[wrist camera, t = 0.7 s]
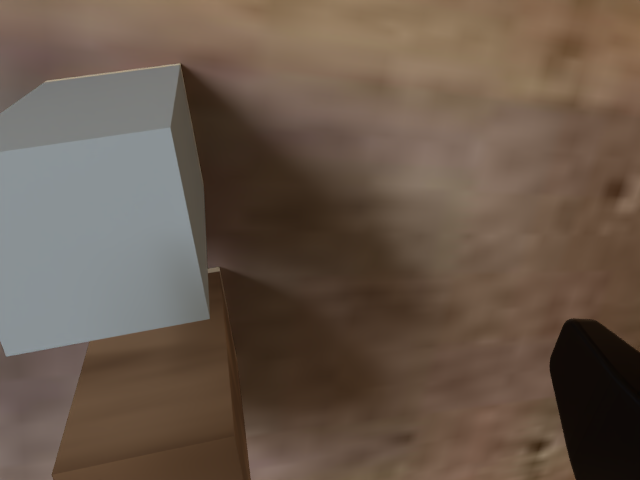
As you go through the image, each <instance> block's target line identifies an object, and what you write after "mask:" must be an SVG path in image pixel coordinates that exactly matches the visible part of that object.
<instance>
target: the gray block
mask: <svg viewBox="0 0 640 480" xmlns="http://www.w3.org/2000/svg"><path fill="white" fill-rule="evenodd" d="M207 319H210V311H209V289H208V267H207V246H206V224H205V202H204V184H203V179H202V173H201V168H200V163H199V158H198V153H197V147H196V142H195V137H194V132H193V126H192V121H191V116H190V111H189V106H188V100H187V95H186V90H185V85H184V79H183V74H182V69H181V64H172V65H164V66H156V67H149V68H141V69H133V70H126V71H118V72H110V73H102V74H95V75H87V76H79V77H72V78H64V79H56V80H48V81H46V82H44V83H43V84H41V85H40V86H39V87H37V88H36V89H34V90H33V91H31V92H30V93H29V94H27V95H26V96H24V97H23V98H22V99H20V100H19V101H17V102H16V103H14V104H13V105H12V106H10V107H9V108H7V109H6V110H4V111H3V112H2V113H0V342H1V344H2V347H3V349H4V352H5V355H6V357H7V356H12V355H18V354H23V353H29V352H34V351H39V350H45V349H50V348H56V347H61V346H66V345H72V344H77V343H83V342H88V341H93V340H99V339H104V338H110V337H115V336H120V335H126V334H131V333H137V332H142V331H147V330H153V329H158V328H164V327H169V326H174V325H180V324H185V323H191V322H196V321H201V320H207Z"/></svg>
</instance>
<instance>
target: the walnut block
mask: <svg viewBox="0 0 640 480" xmlns="http://www.w3.org/2000/svg"><path fill="white" fill-rule="evenodd" d="M208 289H209V311H210V319H207V320H201V321H196V322H191V323H185V324H180V325H174V326H169V327H164V328H158V329H153V330H147V331H142V332H137V333H131V334H126V335H120V336H115V337H110V338H104V339H99V340H93V341H90V342H89V345H88V349H87V352H86V356H85V359H84V363H83V367H82V370H81V374H80V377H79V381H78V384H77V388H76V391H75V395H74V398H73V402H72V405H71V409H70V412H69V416H68V419H67V423H66V426H65V430H64V433H63V437H62V440H61V444H60V447H59V451H58V454H57V458H56V462H55V465H54V469H53V472H52V477H53V480H251V478H250V469H249V460H248V452H247V443H246V434H245V425H244V416H243V408H242V399H241V390H240V381H239V373H238V364H237V356H236V351H235V346H234V341H233V336H232V330H231V325H230V320H229V315H228V309H227V304H226V299H225V294H224V288H223V283H222V278H221V273H220V268H219V267H215V268H209V269H208Z"/></svg>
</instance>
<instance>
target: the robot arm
mask: <svg viewBox="0 0 640 480" xmlns="http://www.w3.org/2000/svg"><path fill="white" fill-rule="evenodd" d="M550 374H551V379H552V383H553V388H554V392H555V397H556V401H557V406H558V410H559V415H560V419H561V424H562V428H563V433H564V437H565V442H566V447H567V451H568V455H569V458H570V462H571V466H572V469H573V472H574V475H575V478H576V480H640V352H639V351H637V350H636V349H634V348H633V347H632V346H630V345H629V344H628V343H626V342H625V341H624V340H622V339H621V338H619V337H618V336H617V335H615V334H614V333H613V332H611V331H610V330H609V329H607V328H606V327H605V326H603V325H602V324H600V323H599V322H597V321H595V320H591V319H569V320H567V321H566V322H565V323H564V325H563V327H562V330H561V332H560V335H559V337H558V340H557V342H556V345H555V347H554V350H553V352H552V355H551V358H550Z"/></svg>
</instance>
